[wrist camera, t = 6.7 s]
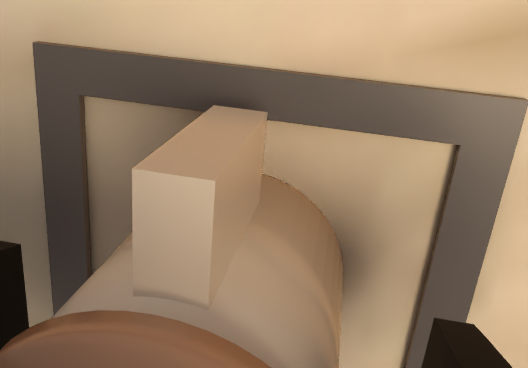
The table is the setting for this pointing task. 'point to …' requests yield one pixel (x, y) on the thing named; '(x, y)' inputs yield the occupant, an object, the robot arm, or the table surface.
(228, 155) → the cylinder with tab
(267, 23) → the table surface
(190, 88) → the tape outline
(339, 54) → the table surface
